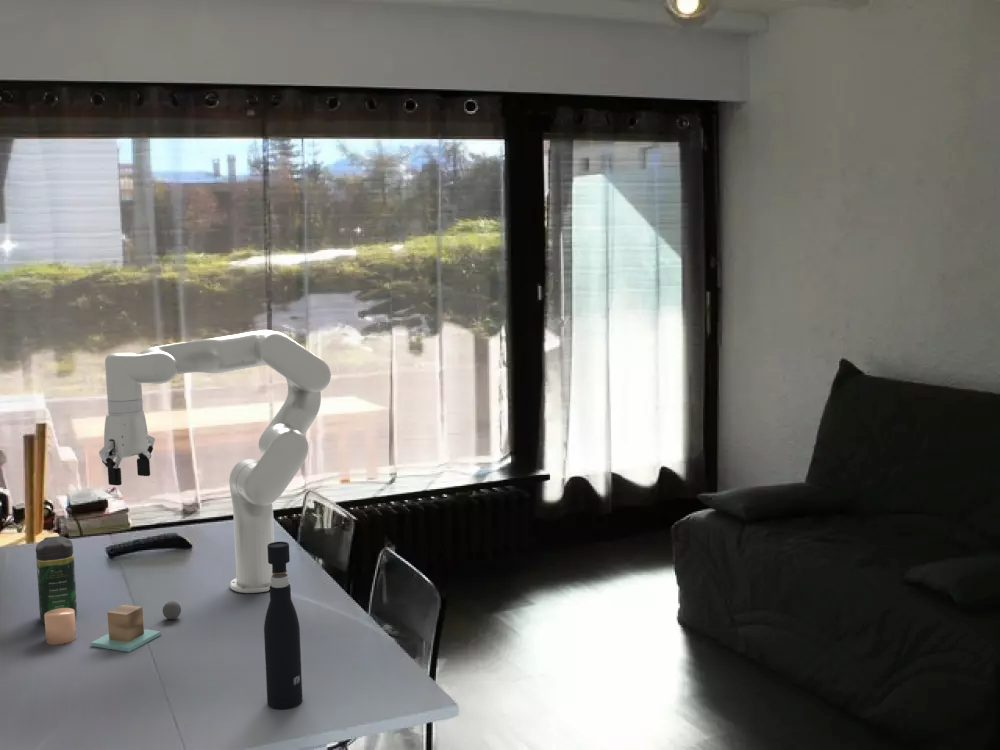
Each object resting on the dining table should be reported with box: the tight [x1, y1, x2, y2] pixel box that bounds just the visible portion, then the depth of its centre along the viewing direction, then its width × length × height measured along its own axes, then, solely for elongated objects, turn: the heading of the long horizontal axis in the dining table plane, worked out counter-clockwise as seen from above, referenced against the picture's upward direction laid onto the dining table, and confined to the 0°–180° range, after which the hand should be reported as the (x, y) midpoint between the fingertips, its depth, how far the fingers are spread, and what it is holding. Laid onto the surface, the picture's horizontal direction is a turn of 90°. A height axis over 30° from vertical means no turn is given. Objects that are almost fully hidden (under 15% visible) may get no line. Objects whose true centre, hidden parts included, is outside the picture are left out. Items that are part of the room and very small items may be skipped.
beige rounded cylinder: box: [44, 608, 77, 646], centre depth 228 cm, size 6×6×6 cm
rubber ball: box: [162, 600, 182, 620], centre depth 239 cm, size 4×4×4 cm
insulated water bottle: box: [263, 541, 303, 710], centre depth 193 cm, size 6×6×30 cm
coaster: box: [90, 628, 162, 653], centre depth 227 cm, size 10×10×1 cm
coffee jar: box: [35, 535, 78, 625], centre depth 240 cm, size 10×8×19 cm
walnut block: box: [107, 604, 145, 642], centre depth 226 cm, size 5×5×6 cm
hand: (129, 480), depth 244 cm, fingers open, 9 cm apart
